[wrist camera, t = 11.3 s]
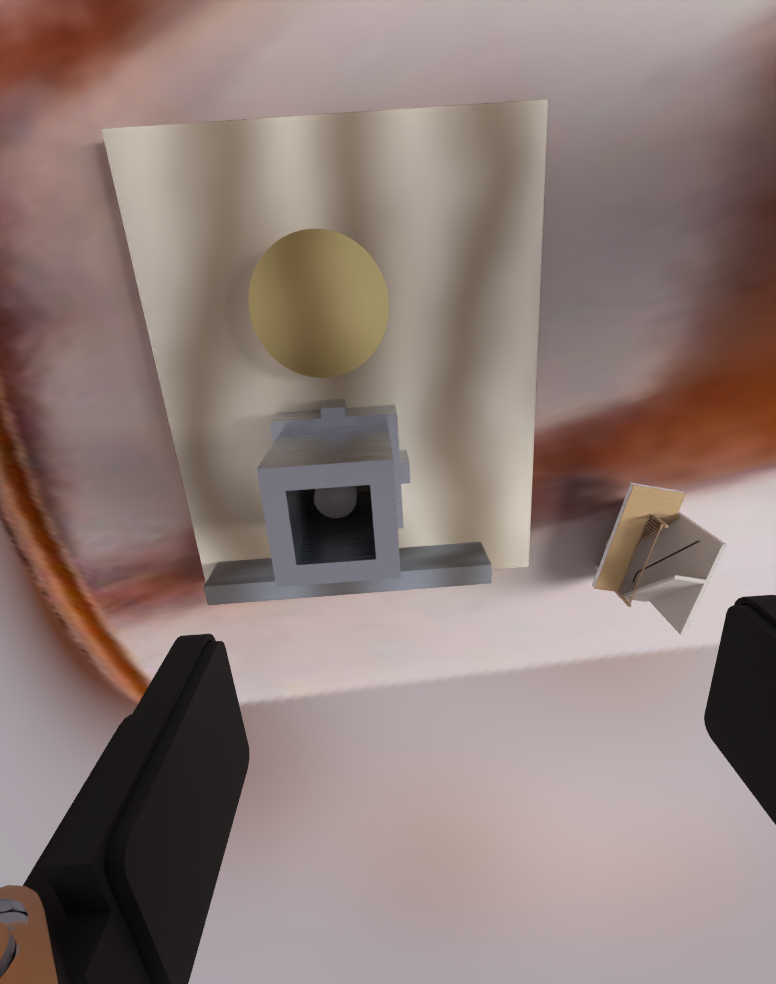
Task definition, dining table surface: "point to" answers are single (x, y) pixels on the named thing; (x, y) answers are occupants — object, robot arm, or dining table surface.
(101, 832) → the robot arm
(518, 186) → the board
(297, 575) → the keystone jack insert
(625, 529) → the architectural model
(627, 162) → the dining table surface
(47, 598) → the dining table surface
